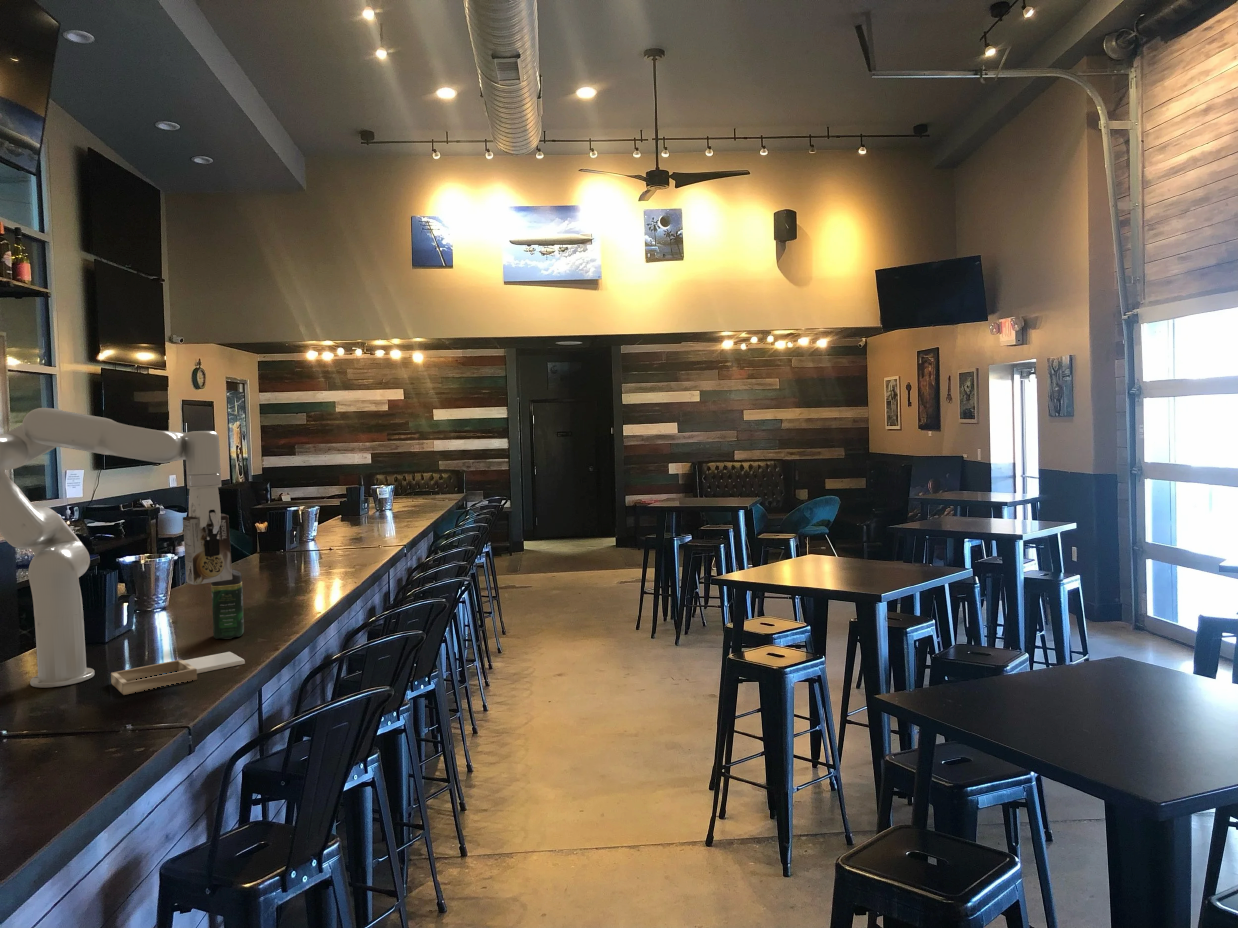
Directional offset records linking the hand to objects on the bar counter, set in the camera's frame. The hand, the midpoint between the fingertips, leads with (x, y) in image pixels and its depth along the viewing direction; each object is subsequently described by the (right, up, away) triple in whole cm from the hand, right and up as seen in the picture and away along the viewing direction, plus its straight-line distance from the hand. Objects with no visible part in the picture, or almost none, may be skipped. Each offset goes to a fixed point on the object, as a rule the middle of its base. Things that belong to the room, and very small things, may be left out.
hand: (207, 553), depth 208 cm
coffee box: (0, -7, 0) cm, 7 cm away
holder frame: (-6, -28, -12) cm, 31 cm away
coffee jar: (-9, -26, +30) cm, 41 cm away
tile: (+1, -27, +1) cm, 27 cm away
